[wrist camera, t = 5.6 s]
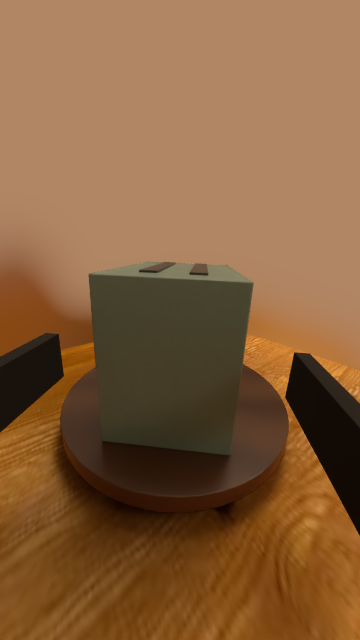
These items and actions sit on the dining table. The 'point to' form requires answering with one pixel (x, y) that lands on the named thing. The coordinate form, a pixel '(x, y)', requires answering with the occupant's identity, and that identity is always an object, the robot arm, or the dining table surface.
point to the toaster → (172, 391)
